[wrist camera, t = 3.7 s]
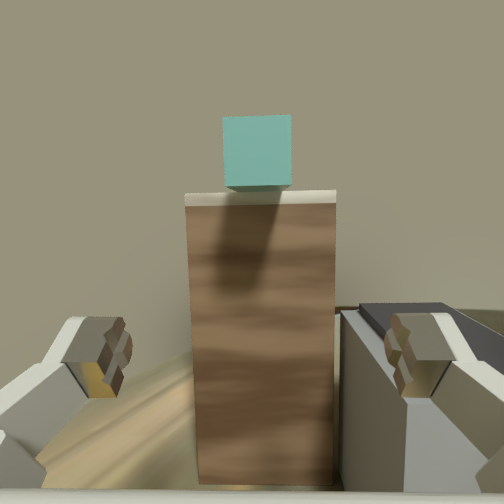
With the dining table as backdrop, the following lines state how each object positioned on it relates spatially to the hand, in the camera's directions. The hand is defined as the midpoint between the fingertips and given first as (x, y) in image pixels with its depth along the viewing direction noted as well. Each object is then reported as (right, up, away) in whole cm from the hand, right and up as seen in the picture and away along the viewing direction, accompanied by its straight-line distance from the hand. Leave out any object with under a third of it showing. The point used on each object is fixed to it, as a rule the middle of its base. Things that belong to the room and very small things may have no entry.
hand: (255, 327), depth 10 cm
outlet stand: (+1, -17, +29) cm, 34 cm away
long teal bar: (+1, +8, +19) cm, 21 cm away
